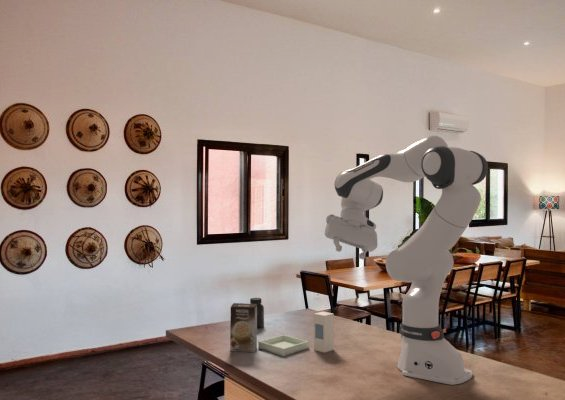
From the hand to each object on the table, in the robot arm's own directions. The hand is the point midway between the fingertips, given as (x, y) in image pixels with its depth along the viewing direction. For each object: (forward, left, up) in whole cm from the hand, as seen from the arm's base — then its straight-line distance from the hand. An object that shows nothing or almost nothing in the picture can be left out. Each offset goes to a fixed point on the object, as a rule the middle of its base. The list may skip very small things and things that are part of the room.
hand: (350, 254), depth 172 cm
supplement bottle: (+51, -1, -35) cm, 61 cm away
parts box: (+9, +4, -35) cm, 36 cm away
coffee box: (+30, +24, -35) cm, 52 cm away
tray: (+20, +13, -35) cm, 42 cm away
